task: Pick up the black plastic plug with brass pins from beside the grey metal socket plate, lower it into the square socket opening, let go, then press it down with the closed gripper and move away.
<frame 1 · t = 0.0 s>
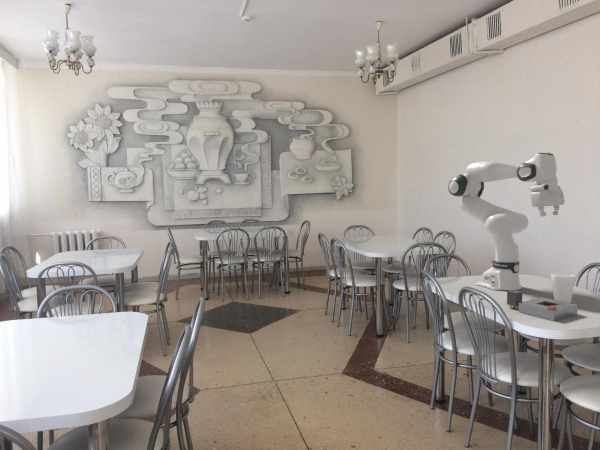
hand: (549, 215, 228), 39 cm above the table, tool pointing down, fingers open, 8 cm apart
socket: (547, 313, 204), on the table
foam cup: (562, 303, 219), on the table
plug: (514, 308, 213), on the table
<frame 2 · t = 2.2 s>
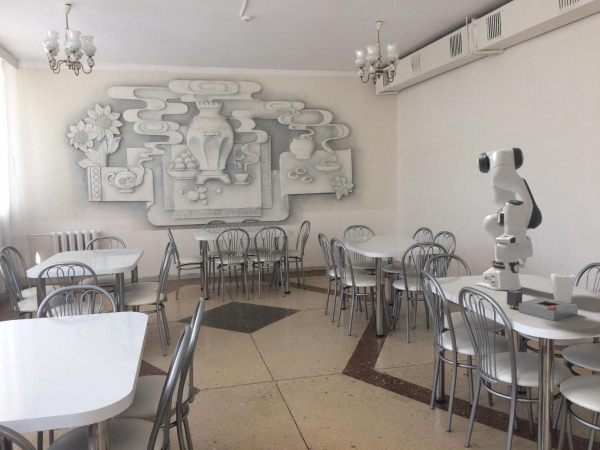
hand: (515, 269, 212), 18 cm above the table, tool pointing down, fingers open, 8 cm apart
nothing on the table moved.
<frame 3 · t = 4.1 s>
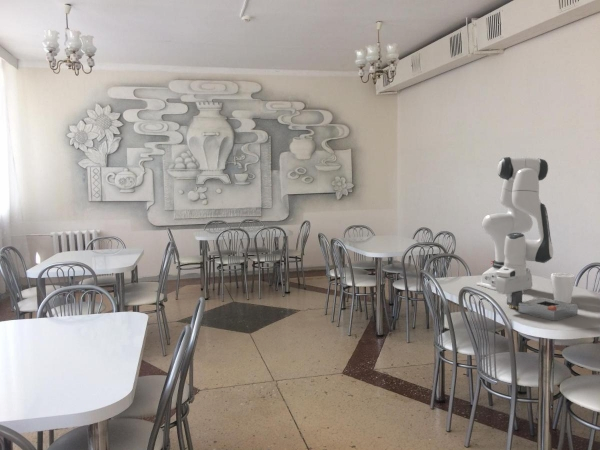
hand: (514, 301, 213), 3 cm above the table, tool pointing down, fingers closed on plug, 4 cm apart
plug: (514, 308, 213), on the table, touching gripper
everything else where it was.
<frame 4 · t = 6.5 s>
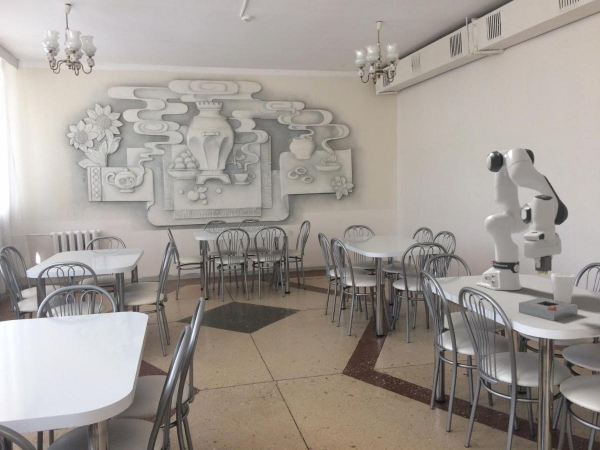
hand: (543, 266, 203), 20 cm above the table, tool pointing down, fingers closed on plug, 4 cm apart
plug: (543, 274, 203), point 17 cm above the table, touching gripper
everything else where it was.
when the fingers open (6 cm above the table, at t = 9.1 s): plug drops 2 cm, resting in socket.
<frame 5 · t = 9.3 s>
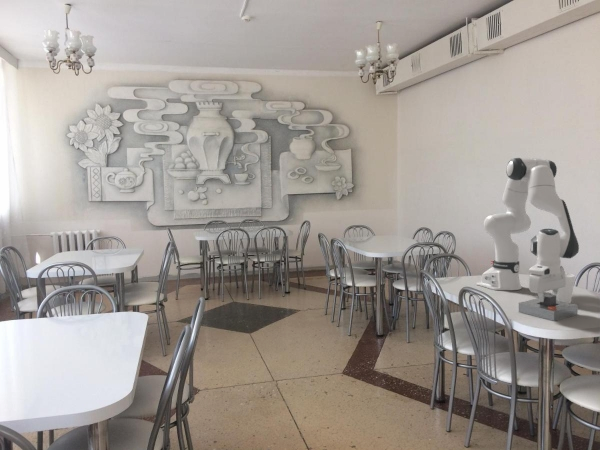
hand: (547, 300, 204), 6 cm above the table, tool pointing down, fingers open, 6 cm apart
plug: (547, 313, 204), resting in socket
everything else where it was.
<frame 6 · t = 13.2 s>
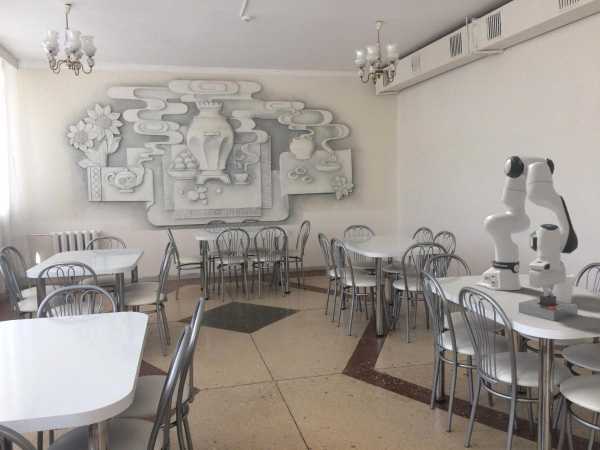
hand: (547, 295, 203), 8 cm above the table, tool pointing down, fingers closed
nothing on the table moved.
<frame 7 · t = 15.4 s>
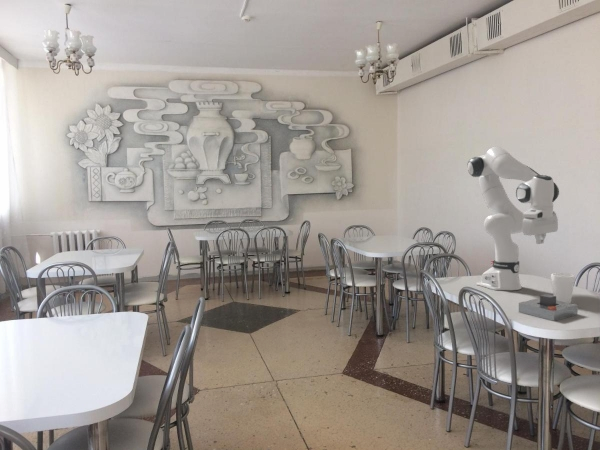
hand: (539, 243, 214), 28 cm above the table, tool pointing down, fingers closed
nothing on the table moved.
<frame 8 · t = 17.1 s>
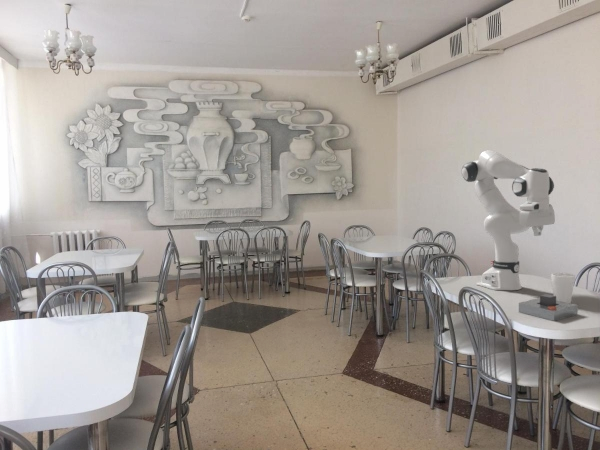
hand: (537, 235, 216), 31 cm above the table, tool pointing down, fingers closed
nothing on the table moved.
at the end: plug 0.1 cm off-centre on the socket, point 0.0 cm above the socket's base; plug tilted 0°; the gripper is holding nothing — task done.
